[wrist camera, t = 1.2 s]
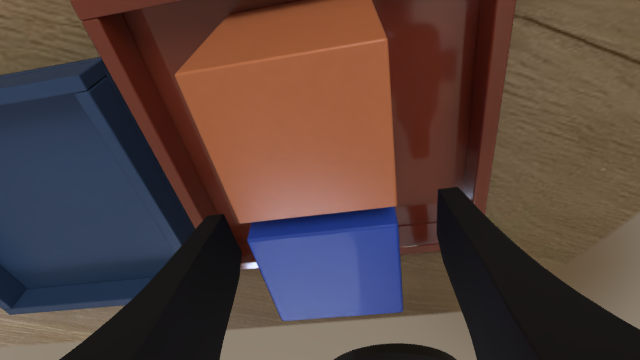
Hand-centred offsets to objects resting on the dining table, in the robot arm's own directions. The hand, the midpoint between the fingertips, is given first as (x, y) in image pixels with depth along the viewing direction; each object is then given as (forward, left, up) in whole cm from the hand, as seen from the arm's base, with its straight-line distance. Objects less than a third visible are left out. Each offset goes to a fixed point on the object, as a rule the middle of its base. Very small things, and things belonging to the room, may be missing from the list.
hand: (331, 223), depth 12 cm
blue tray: (-6, +10, -3) cm, 12 cm away
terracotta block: (+4, +2, -2) cm, 5 cm away
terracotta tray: (+2, +1, -3) cm, 3 cm away
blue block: (0, 0, -2) cm, 2 cm away
